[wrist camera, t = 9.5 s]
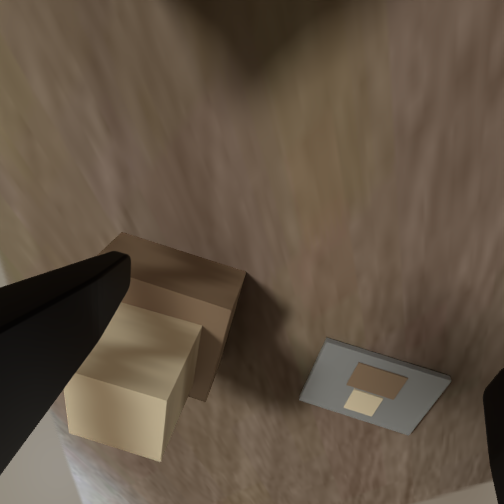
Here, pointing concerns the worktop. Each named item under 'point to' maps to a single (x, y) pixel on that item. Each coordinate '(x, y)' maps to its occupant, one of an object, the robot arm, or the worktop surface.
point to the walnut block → (184, 296)
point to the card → (372, 386)
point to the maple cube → (134, 382)
